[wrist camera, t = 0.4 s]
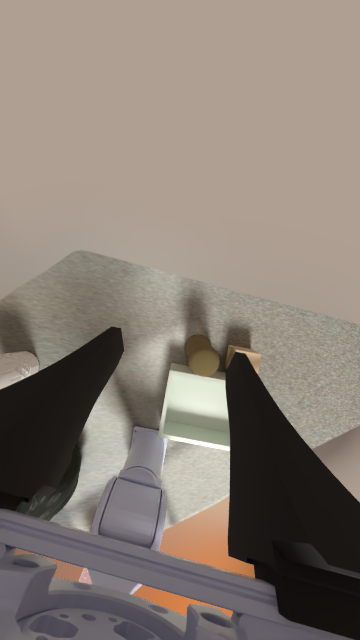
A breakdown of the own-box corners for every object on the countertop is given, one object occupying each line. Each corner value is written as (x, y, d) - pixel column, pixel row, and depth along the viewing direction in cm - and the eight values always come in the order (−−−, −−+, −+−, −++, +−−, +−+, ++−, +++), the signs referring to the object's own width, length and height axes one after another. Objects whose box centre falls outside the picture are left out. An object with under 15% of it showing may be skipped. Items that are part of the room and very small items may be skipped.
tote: (237, 434, 37) (245, 453, 32) (160, 420, 37) (157, 437, 32) (248, 376, 36) (259, 386, 31) (171, 362, 36) (169, 370, 31)
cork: (207, 331, 36) (217, 339, 25) (215, 357, 36) (229, 376, 25) (181, 339, 36) (180, 350, 25) (189, 365, 36) (192, 387, 25)
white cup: (31, 342, 37) (-26, 352, 27) (48, 372, 37) (-2, 394, 27) (1, 358, 37) (-65, 374, 27) (19, 388, 37) (-41, 415, 27)
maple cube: (246, 370, 36) (256, 379, 31) (224, 366, 36) (230, 374, 31) (250, 348, 36) (261, 354, 31) (228, 344, 36) (235, 349, 31)
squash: (1, 427, 32) (-91, 562, 21) (78, 428, 32) (27, 561, 21) (41, 441, 42) (-8, 538, 31) (100, 442, 42) (72, 538, 31)
